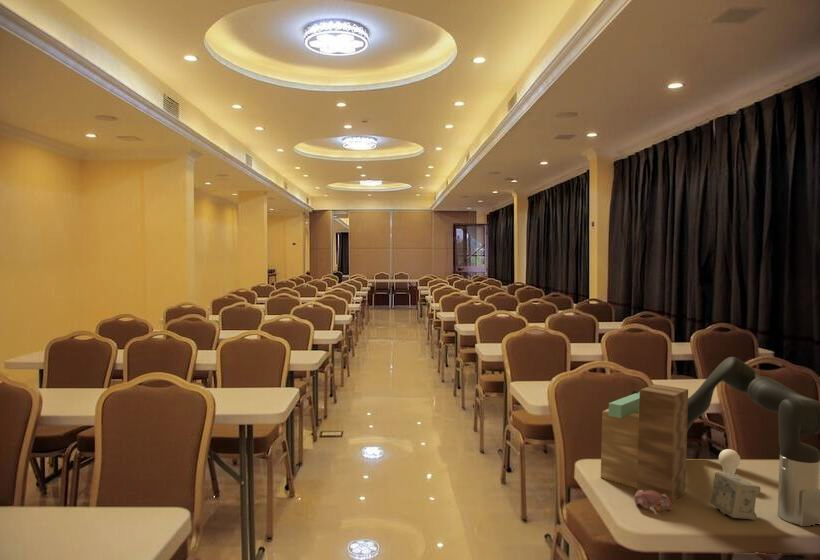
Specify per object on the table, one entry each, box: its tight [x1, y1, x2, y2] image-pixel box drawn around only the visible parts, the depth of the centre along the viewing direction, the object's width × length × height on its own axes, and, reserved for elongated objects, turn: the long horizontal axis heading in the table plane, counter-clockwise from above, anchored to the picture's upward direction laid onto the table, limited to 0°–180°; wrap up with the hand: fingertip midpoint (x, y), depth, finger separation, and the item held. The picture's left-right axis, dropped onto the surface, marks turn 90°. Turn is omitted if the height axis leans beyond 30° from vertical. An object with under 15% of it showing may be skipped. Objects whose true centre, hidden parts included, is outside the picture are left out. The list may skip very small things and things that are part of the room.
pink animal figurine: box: [633, 490, 672, 512], centre depth 166 cm, size 10×5×7 cm, turn 63°
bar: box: [608, 391, 640, 418], centre depth 192 cm, size 26×4×4 cm, turn 136°
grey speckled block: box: [709, 471, 761, 521], centre depth 164 cm, size 10×8×10 cm
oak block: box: [600, 408, 639, 489], centre depth 191 cm, size 14×12×22 cm
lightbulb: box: [718, 448, 741, 474], centre depth 187 cm, size 6×6×11 cm
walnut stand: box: [636, 383, 689, 505], centre depth 177 cm, size 12×10×32 cm
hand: (641, 393), depth 197 cm, fingers open, 4 cm apart
